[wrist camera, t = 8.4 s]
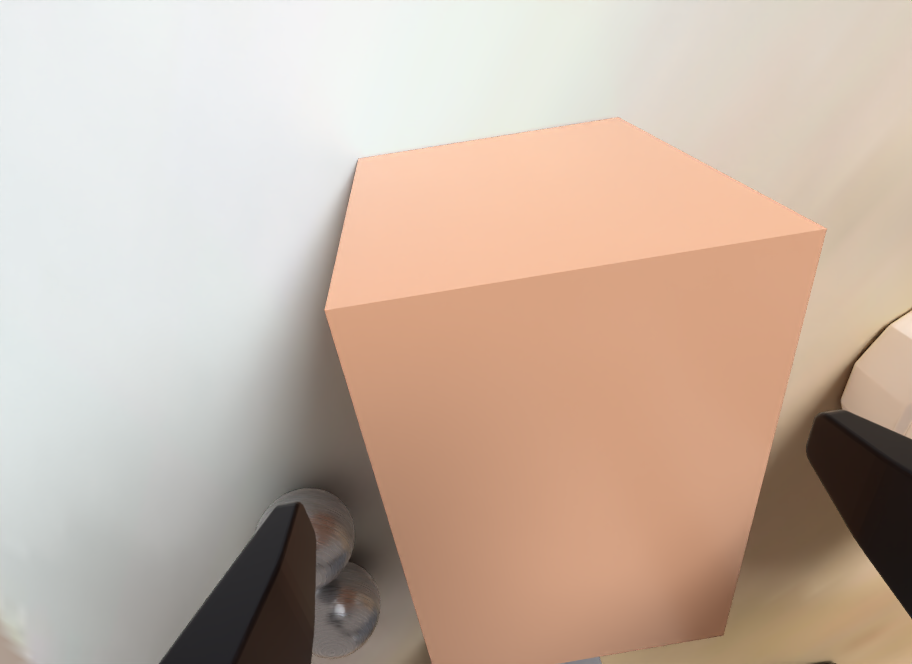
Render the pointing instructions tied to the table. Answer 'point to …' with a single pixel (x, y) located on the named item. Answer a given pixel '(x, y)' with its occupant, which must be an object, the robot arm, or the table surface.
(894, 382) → the white cup
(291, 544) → the robot arm
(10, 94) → the table surface
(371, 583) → the marble
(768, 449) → the peach rectangular block
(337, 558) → the marble
